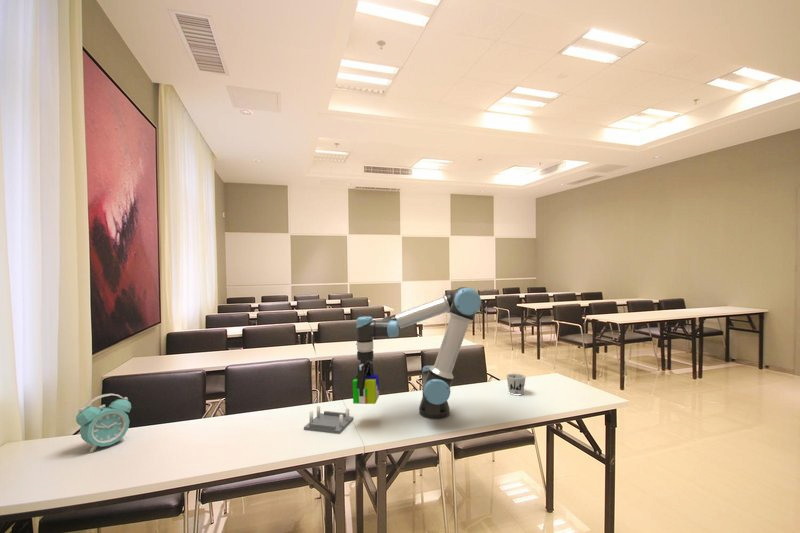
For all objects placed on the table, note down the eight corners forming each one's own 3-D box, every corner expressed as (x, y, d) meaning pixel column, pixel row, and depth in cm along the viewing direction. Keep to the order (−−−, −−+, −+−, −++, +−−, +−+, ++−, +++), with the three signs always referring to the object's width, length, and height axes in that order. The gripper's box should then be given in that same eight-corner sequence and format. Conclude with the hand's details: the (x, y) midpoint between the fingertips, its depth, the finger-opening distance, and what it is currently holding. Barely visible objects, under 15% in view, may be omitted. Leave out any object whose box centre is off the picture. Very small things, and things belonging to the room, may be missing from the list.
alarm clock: (82, 457, 135) (82, 403, 136) (72, 450, 140) (73, 399, 141) (135, 439, 150) (135, 391, 150) (125, 433, 155) (125, 387, 155)
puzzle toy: (379, 396, 170) (378, 374, 170) (375, 403, 160) (374, 381, 160) (358, 395, 171) (357, 374, 171) (353, 403, 161) (352, 381, 162)
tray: (353, 419, 170) (353, 406, 170) (339, 433, 155) (339, 419, 155) (320, 415, 174) (320, 402, 174) (303, 429, 159) (303, 415, 159)
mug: (507, 396, 202) (507, 378, 202) (504, 387, 217) (504, 371, 217) (527, 397, 200) (527, 379, 200) (522, 388, 215) (522, 371, 215)
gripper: (365, 345, 178) (367, 390, 178) (348, 356, 156) (349, 407, 155) (380, 345, 176) (381, 390, 176) (364, 356, 154) (365, 408, 154)
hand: (366, 398), depth 166 cm, fingers closed on puzzle toy, 10 cm apart
